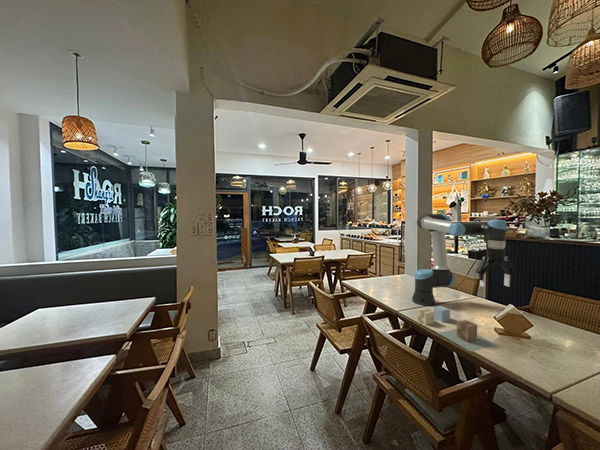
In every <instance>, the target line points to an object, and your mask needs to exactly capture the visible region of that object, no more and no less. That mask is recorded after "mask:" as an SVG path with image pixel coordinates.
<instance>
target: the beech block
mask: <svg viewBox="0 0 600 450" xmlns="http://www.w3.org/2000/svg"><path fill="white" fill-rule="evenodd" d="M417 323H418V324H420V325H421V324H422V325H425V326H427V325H433V324H435V320H434V310H431V309H428V308H426V307H424V308H419V309H418V308H417Z"/></svg>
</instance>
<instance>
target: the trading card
mask: <svg viewBox="0 0 600 450" xmlns="http://www.w3.org/2000/svg"><path fill="white" fill-rule="evenodd" d="M458 316H459V317H460V316H461V314H458V315H455V316H454V315H451V317H452V318H455V317H458ZM468 318H472V319H473V320H476V321H478V322H479V323H482V324H484V325H485V326H488V327H486V328H485V329H486V330H489V329H493V328H494V327H492V326H491V325H488V324H486V323H484V322H481V321H480V320H478V319H476V318H473V317H471V316H470V315H468Z"/></svg>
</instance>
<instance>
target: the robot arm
mask: <svg viewBox="0 0 600 450" xmlns="http://www.w3.org/2000/svg"><path fill="white" fill-rule="evenodd" d="M416 226H417V227H418V228H419V229H422V230H428V232H429V234H430V235H431V243H432V245H431V246H432V247H431V248H432V257H433V267H431V269H429V268H422V269H421V268H420V269H418V270H416V271H415V273H414V274H415V275H414V292H413V295H412V296H411V301H412V302H413V303H415V304H417V305H421V306H429V307H430V306H435V305H436V299H435V296H434V288H450V287H452V286H453V285H454V283H455V281H456V277H455V274H454V272H453V271H451V268H449V267H448V256H447V245H446V234H447V233H448V234H449V235H451V236H453V237H460V236H461V237H462V236H463V237H466V236H472V237H473V236H475V237H476V236H479V237H481V236H483V237H487V247H488V248H487V250H486V251H487V256H482V257H481V260H480V262H479V264H478V265H477V268H476V270H475V273H477V274H478V280H479V285H480V287H483V288H485V287H486V277H487V276H486V273H487V271H489V269H490V268H491V267H493V266H500V267H501V269H502V270H503V271H504V277H503V279H504V280H503V286H505V287H509V288H510V287H511V279H512V276H513V275H514V274H516V270H515V268H514V266H513V264H512V261H511V257H509V256H507V255H506V241H507V240H506V239H507V237H506V236H507V229H508V227H507V221H506V220H504V219H489V220H488V222H477V221H476V222H459V221H451V220H450V218H449V217H448V216H447V215H446V214H443V213H424V214H421V215H420V216H418V218H416Z"/></svg>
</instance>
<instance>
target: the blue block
mask: <svg viewBox="0 0 600 450" xmlns="http://www.w3.org/2000/svg"><path fill="white" fill-rule="evenodd" d="M433 312H434V322H438V321H439V322H440V323H444V322H450V321H451V309H450V308H448V307H447V306H443V305H438V306H437V305H436V306H433Z"/></svg>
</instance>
